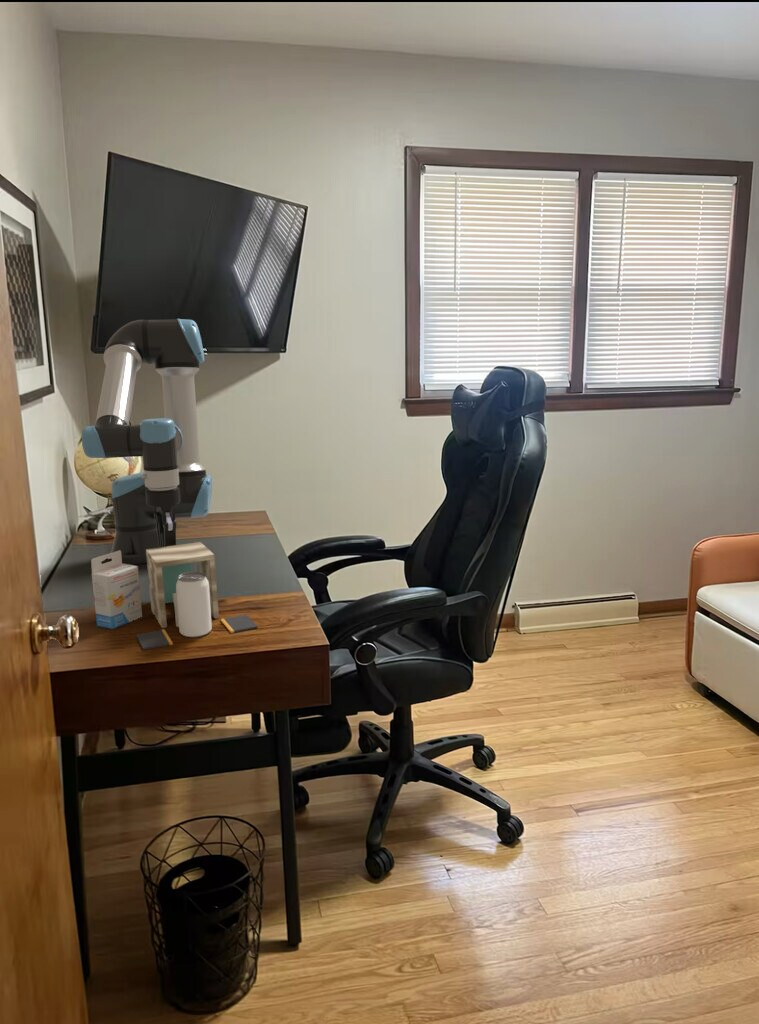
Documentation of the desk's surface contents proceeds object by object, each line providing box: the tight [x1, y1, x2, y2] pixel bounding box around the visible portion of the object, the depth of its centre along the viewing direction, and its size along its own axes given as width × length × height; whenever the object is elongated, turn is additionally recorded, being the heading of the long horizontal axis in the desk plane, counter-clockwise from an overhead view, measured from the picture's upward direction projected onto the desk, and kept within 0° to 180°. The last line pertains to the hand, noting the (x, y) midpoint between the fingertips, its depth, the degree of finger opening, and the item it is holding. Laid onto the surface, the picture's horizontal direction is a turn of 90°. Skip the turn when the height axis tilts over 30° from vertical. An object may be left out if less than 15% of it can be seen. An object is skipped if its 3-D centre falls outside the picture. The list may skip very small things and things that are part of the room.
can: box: [176, 571, 213, 638], centre depth 152 cm, size 6×6×12 cm
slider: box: [162, 562, 192, 628], centre depth 163 cm, size 19×8×9 cm, turn 27°
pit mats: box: [135, 614, 259, 651], centre depth 153 cm, size 8×23×1 cm, turn 117°
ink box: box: [90, 550, 143, 630], centre depth 159 cm, size 8×5×15 cm, turn 152°
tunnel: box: [146, 541, 220, 629], centre depth 162 cm, size 12×12×14 cm
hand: (170, 586), depth 174 cm, fingers closed
